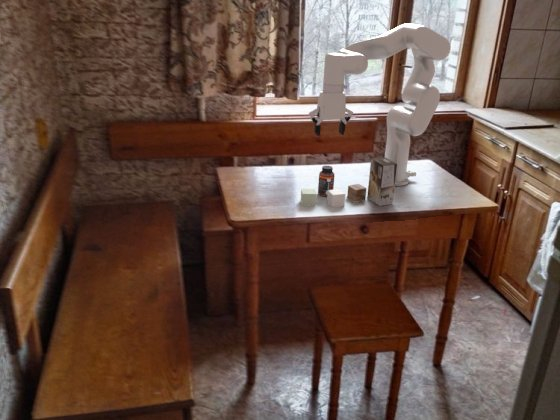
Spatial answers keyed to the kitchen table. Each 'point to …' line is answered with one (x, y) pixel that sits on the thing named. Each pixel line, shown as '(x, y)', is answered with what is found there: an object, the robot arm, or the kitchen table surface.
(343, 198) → the pale pinkish white cube
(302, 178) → the kitchen table surface
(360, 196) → the walnut cube
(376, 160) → the coffee box
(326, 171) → the supplement bottle
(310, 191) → the sage cube
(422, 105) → the robot arm
